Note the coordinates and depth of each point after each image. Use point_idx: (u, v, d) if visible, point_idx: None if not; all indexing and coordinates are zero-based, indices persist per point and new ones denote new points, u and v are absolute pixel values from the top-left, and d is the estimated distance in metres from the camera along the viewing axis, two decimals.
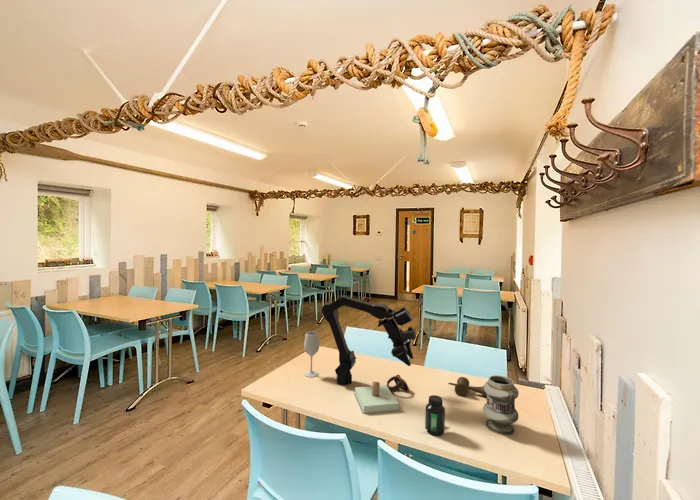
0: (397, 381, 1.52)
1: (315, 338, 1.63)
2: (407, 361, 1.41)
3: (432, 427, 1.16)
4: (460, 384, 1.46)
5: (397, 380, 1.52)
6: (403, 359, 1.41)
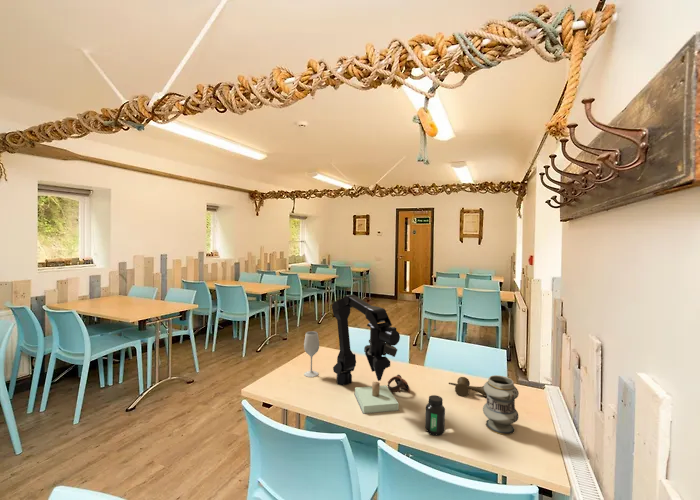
0: (398, 381, 1.52)
1: (315, 338, 1.63)
2: (380, 375, 1.32)
3: (432, 427, 1.16)
4: (460, 384, 1.46)
5: (398, 380, 1.51)
6: (378, 372, 1.32)
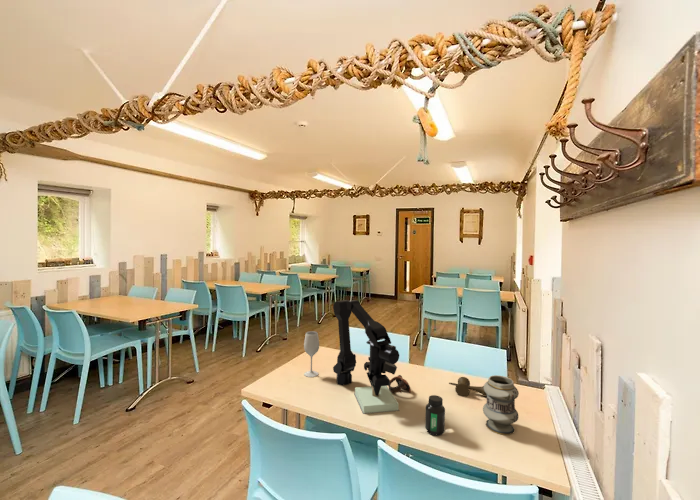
0: (399, 381, 1.52)
1: (315, 338, 1.63)
2: (378, 390, 1.35)
3: (433, 427, 1.16)
4: (461, 384, 1.46)
5: (399, 380, 1.51)
6: (376, 387, 1.35)
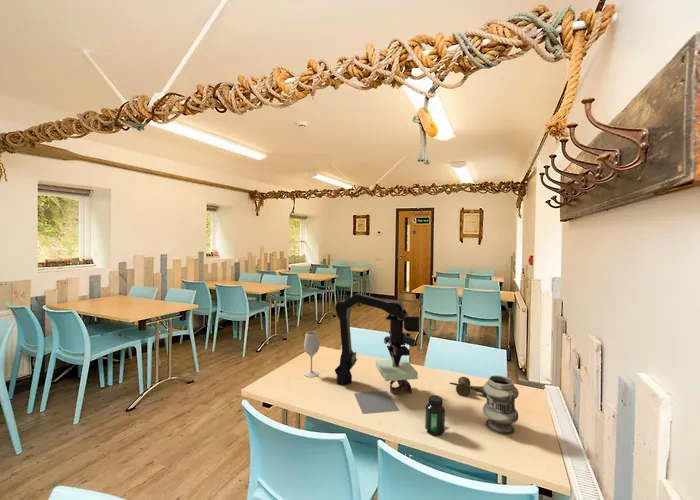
0: (400, 382, 1.51)
1: (315, 338, 1.63)
2: (398, 361, 1.45)
3: (433, 427, 1.16)
4: (461, 384, 1.47)
5: (400, 381, 1.51)
6: (396, 358, 1.44)
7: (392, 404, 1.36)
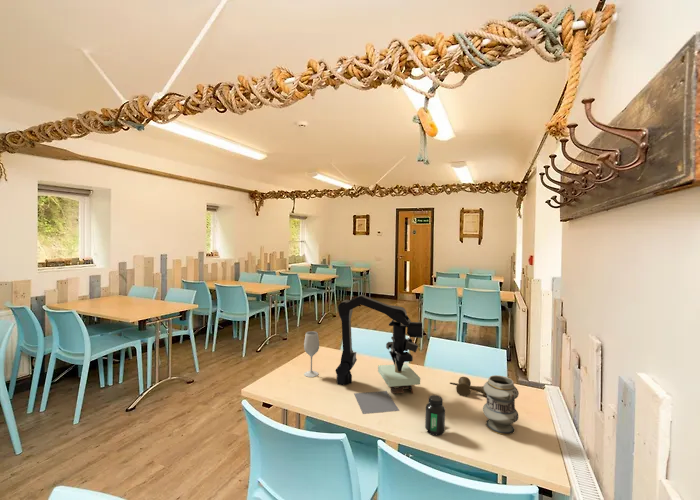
0: None
1: (315, 338, 1.63)
2: (400, 367, 1.47)
3: (433, 427, 1.17)
4: (462, 384, 1.47)
5: None
6: (399, 364, 1.46)
7: (392, 404, 1.36)
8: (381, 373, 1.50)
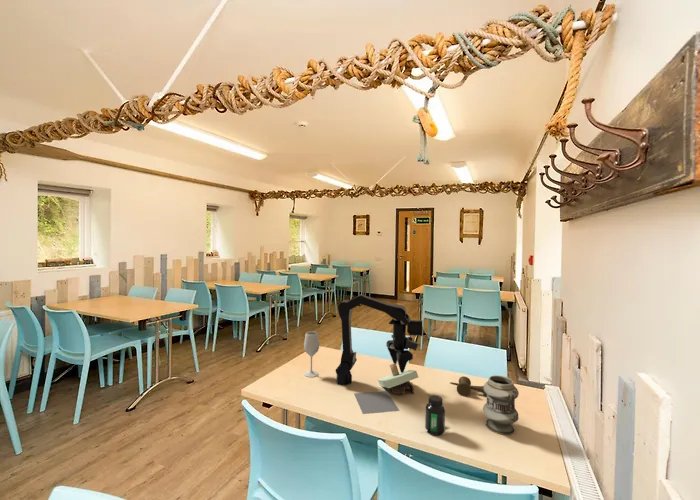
0: None
1: (315, 338, 1.63)
2: (403, 368, 1.44)
3: (433, 427, 1.17)
4: (462, 384, 1.47)
5: None
6: (401, 364, 1.43)
7: (392, 404, 1.36)
8: (381, 383, 1.50)
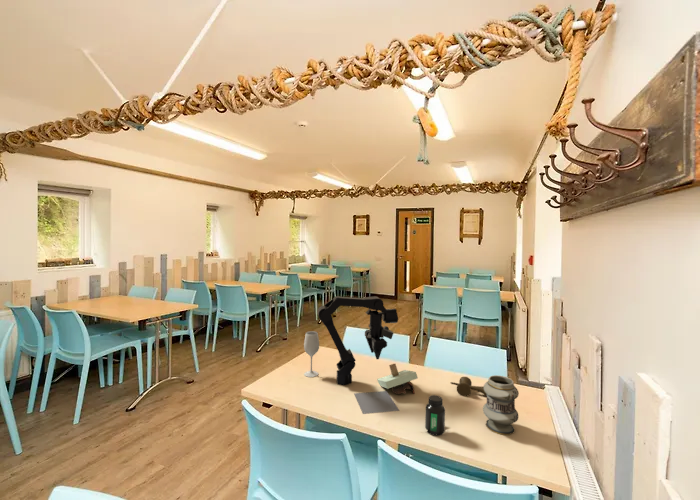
0: None
1: (315, 338, 1.63)
2: (378, 355, 1.53)
3: (433, 427, 1.17)
4: (462, 384, 1.47)
5: None
6: (376, 352, 1.52)
7: (392, 404, 1.36)
8: (380, 383, 1.51)
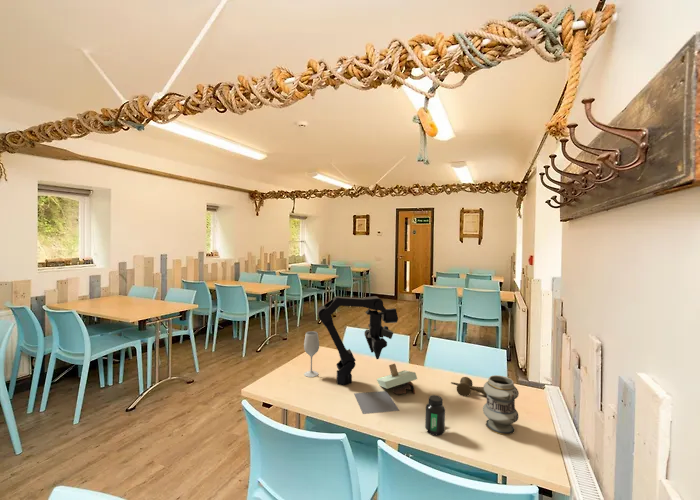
0: None
1: (315, 338, 1.63)
2: (378, 354, 1.53)
3: (433, 427, 1.17)
4: (462, 384, 1.47)
5: None
6: (376, 352, 1.52)
7: (392, 404, 1.36)
8: (380, 383, 1.51)
